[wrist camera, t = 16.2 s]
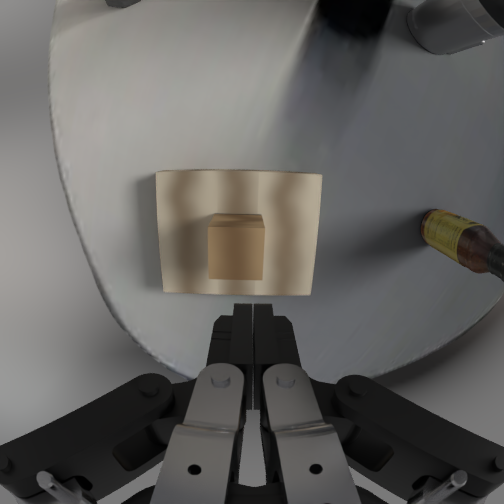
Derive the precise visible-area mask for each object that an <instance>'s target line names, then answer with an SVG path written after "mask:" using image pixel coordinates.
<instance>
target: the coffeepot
mask: <svg viewBox="0 0 504 504" xmlns="http://www.w3.org/2000/svg"><path fill="white" fill-rule="evenodd" d="M105 1H106V3H107V5H108V6H112V7H124V8H125V7H128V6H130V5H133V4H135V3H137V2H139V1H141V0H105Z"/></svg>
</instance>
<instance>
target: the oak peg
mask: <svg viewBox="0 0 504 504" xmlns="http://www.w3.org/2000/svg"><path fill="white" fill-rule="evenodd" d="M264 241H265V226H264V222H263V218H262V215H261V214H223V213H215V214H214V216H213V218H212V220H211V222H210V223H209V225H208V272H209V279H222V280H262V279H263V260H264Z"/></svg>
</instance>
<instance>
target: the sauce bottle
mask: <svg viewBox="0 0 504 504" xmlns="http://www.w3.org/2000/svg"><path fill="white" fill-rule="evenodd" d="M421 234H422V237H423V239H424V240H425V242H426V243H428V244H429V245H430V246H431V247H433V248H435V249H436V250H438V251H440V252H441V253H443V254H444V255H446V256H448V257H449V258H451V259H453V260H454V261H456V262H457V263H459V264H461V265H462V266H464V267H467V268H469V269H470V270H471V271H473V272H475V273H487V272H490V273H491V274H494V275H496V276H497V277H499V278H500V279H501V280H502V281H503V282H504V244H501V242H500V241H499V240H498V239H497V238H496V237H495V236H494V234H493V233H492V232H491V231H490V229H489V228H488V227H486V226H484V225H482V224H479V223H476V222H474V221H472V220H469V219H467V218H464V217H461V216H459V215H456V214H453V213H451V212H448V211H445V210H438V209H434V210H431V211H430V212H428V213H427V214H426V215H425V217H424V219H423V221H422V224H421Z"/></svg>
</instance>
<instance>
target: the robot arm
mask: <svg viewBox="0 0 504 504" xmlns="http://www.w3.org/2000/svg"><path fill="white" fill-rule="evenodd" d="M407 23H408V27H409V29H410V31H411V33H412V35H413V36H414V38H415V39H416V40H417V41H418V42H419V43H420V44H421V46H423V47H424V48H425V49H426V50H428V51H430V52H431V53H434V54H437V55H443V54H446V53H448V54H450V55H451V54H454V53H457V52H460V51H463V50H466V49H469V48H472V47H475V46H479V45H482V44H484V43H485V40H488V39H492V38H495V37H499V36H503V35H504V0H426V1H424V2H423V3H421V4H420V5H419V6H417V7H416V8H414V9H413V10H412V11H410V12H409V13H408V15H407ZM252 386H253V388H254V409H255V410H256V409H257V410H260V433H261V441H262V449H263V456H264V463H265V472H266V485H263V486H259V487H250V486H245V485H241V484H239V469H240V460H241V452H242V443H243V434H244V425H245V423H246V410H250V409H251V410H252ZM161 461H163V463H162V467H161V469H160V473H159V476H158V479H157V482H156V485H153V486H151V487H148V488H145V489H144V490H142V491H139V492H138V493H136V494H135V495H133V496H132V497H130V498H129V499H127V500H126V501H124V502H123V503H121V504H388V503H387V502H385V501H383V500H382V499H380V498H379V497H377V496H376V495H374V494H373V493H371V492H370V491H368V490H366V489H364V488H362V487H359V486H357V485H355V484H354V481H353V478H352V475H351V472H350V469H349V466H350V467H351V468H353V469H354V470H356V471H357V472H359V473H360V474H362V475H364V476H365V477H367V478H368V479H370V480H371V481H373V482H375V483H376V484H378V485H380V486H381V487H383V488H385V489H387V490H388V491H390V492H391V493H393V494H395V495H397V496H399V497H400V498H402V499H404V500H406V501H407V504H484V502H485V500H486V498H487V496H488V495H489V494H490V493H491V492H492V491H494V490H495V489H496V488H498V487H499V486H500V485H502V484H503V483H504V447H503V446H500V445H498V444H496V443H494V442H492V441H489V440H487V439H485V438H483V437H481V436H478V435H476V434H474V433H472V432H470V431H468V430H466V429H464V428H462V427H460V426H457V425H455V424H453V423H451V422H449V421H447V420H445V419H443V418H441V417H439V416H438V415H436V414H433V413H431V412H430V411H428V410H426V409H424V408H422V407H420V406H418V405H416V404H414V403H413V402H411V401H409V400H407V399H405V398H403V397H401V396H400V395H398V394H396V393H394V392H392V391H391V390H389V389H387V388H385V387H383V386H381V385H380V384H378V383H376V382H375V381H373V380H371V379H369V378H367V377H365V376H361V375H348V376H345V377H343V378H341V379H340V380H339V381H338V382H337V384H330V383H324V382H319V381H316V380H314V379H312V378H310V377H309V376H308V374H307V373H306V371H305V370H303V369H302V367H301V363H300V358H299V354H298V349H297V345H296V340H295V335H294V331H293V326H292V323H291V322H290V321H289V320H288V319H287V318H286V316H273V308H272V304H254V313H253V323H252V304H237V303H234V311H233V316H227V315H221V316H220V317H219V318H218V319H217V320H216V321H215V322H214V326H213V333H212V337H211V342H210V347H209V353H208V358H207V364H206V367H205V368H203V369H202V370H201V371H200V373H199V375H198V377H197V378H195V379H193V380H191V381H188V382H182V383H175V384H171V382H170V381H169V380H168V379H167V378H166V377H164V376H162V375H160V374H155V373H148V374H143V375H140V376H138V377H136V378H134V379H132V380H131V381H129V382H127V383H125V384H123V385H122V386H120V387H118V388H116V389H114V390H113V391H111V392H109V393H107V394H105V395H103V396H101V397H100V398H98V399H96V400H94V401H92V402H90V403H88V404H87V405H84V406H83V407H81V408H79V409H77V410H75V411H73V412H71V413H69V414H67V415H65V416H63V417H61V418H59V419H57V420H55V421H53V422H51V423H49V424H47V425H45V426H43V427H40V428H38V429H36V430H34V431H32V432H30V433H28V434H26V435H23V436H21V437H19V438H17V439H14V440H12V441H10V442H8V443H5V444H3V445H1V446H0V484H1V485H2V486H3V487H4V488H6V489H7V490H8V491H10V493H12V495H14V497H15V498H16V500H17V502H18V504H97V501H98V500H100V499H102V498H104V497H105V496H107V495H109V494H111V493H112V492H114V491H116V490H118V489H119V488H121V487H123V486H124V485H126V484H128V483H129V482H131V481H132V480H134V479H136V478H137V477H139V476H140V475H142V474H143V473H145V472H146V471H148V470H149V469H151V468H152V467H154V466H155V465H157V464H158V463H160V462H161Z"/></svg>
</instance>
